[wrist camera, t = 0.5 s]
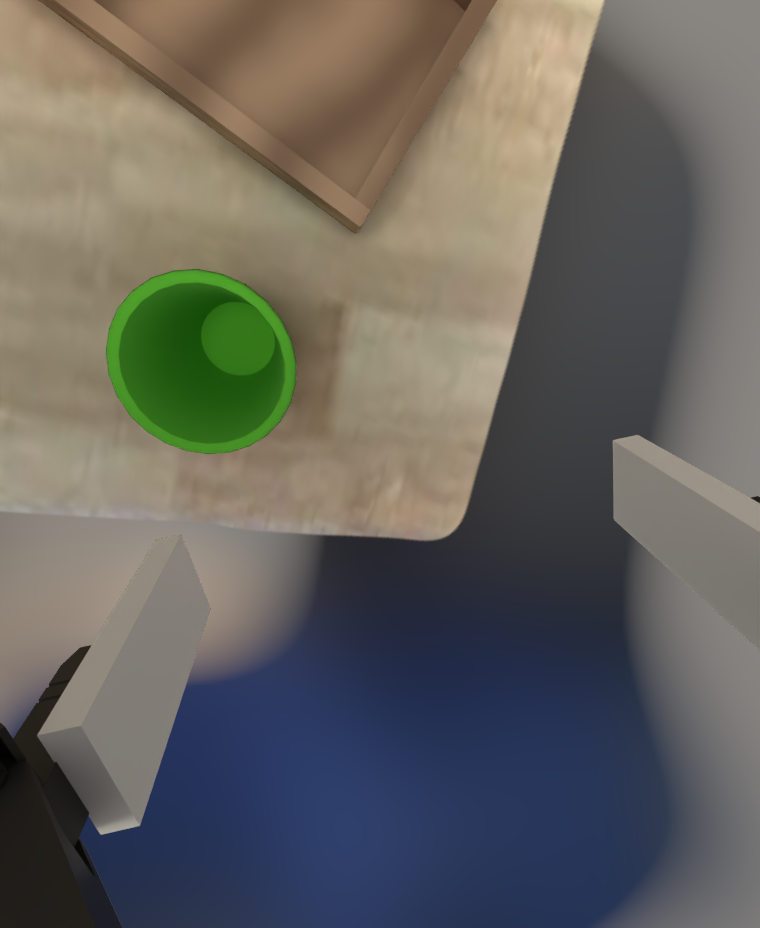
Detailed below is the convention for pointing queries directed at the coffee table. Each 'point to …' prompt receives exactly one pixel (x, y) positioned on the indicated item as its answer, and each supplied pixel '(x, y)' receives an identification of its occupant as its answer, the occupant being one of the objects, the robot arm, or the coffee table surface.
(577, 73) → the coffee table surface
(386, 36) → the tray
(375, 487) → the coffee table surface
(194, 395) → the cup
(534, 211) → the coffee table surface
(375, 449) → the coffee table surface
